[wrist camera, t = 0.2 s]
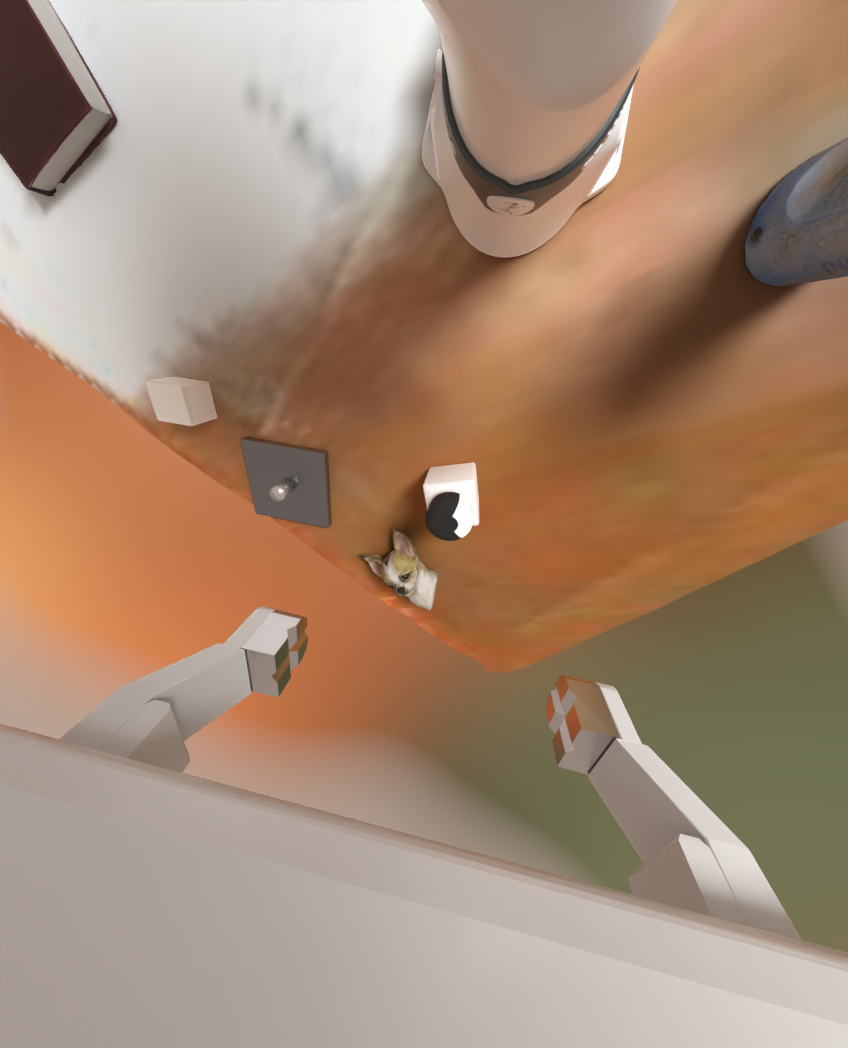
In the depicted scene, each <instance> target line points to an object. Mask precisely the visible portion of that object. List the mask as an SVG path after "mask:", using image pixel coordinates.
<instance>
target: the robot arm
mask: <svg viewBox="0 0 848 1048" xmlns="http://www.w3.org/2000/svg"><path fill="white" fill-rule="evenodd" d="M677 1H678V0H422V2H423V3H424V5H425V6H426V8H427V9H428V11H429V12H430V14H431V16H432V17H433V19H434V21H435V22H436V24H437V26H438V30H439V35H440V39H441V44H442V50H441V49H438V51H437V54H436V59H435V66H434V78H435V83H434V88H433V93H432V98H431V102H430V107H429V112H428V117H427V122H426V126H425V131H424V136H423V141H422V147H421V153H422V161H423V164H424V166H425V168H426V170H427V171H428V173H429V174H430V175H431V177H432V178H433V179H434V180H435V182H436V183H437V184H438V185H439V186H440V187H441V189H442V191H443V193H444V196H445V198H446V201H447V204H448V207H449V210H450V213H451V216H452V218H453V220H454V222H455V224H456V226H457V228H458V230H459V231H460V233H461V234H462V235H463V237H464V238H465V239H466V240H467V241H468V242H469V243H470V244H471V245H472V246H473V247H475V248H476V249H478V250H479V251H481V252H483V253H485V254H488V255H491V256H494V257H502V258H509V257H516V256H520V255H524V254H526V253H529V252H531V251H533V250H535V249H537V248H538V247H540V246H541V245H543V244H544V243H546V242H547V241H548V240H549V239H551V238H552V237H553V236H554V235H555V234H556V233H557V232H558V231H559V230H560V229H561V228H562V227H563V225H564V224H565V223H566V222H567V220H568V219H569V218H570V217H571V215H572V214H573V213H574V212H575V211H576V209H577V208H578V207H579V206H580V205H581V204H582V203H584V202H586V201H587V200H589V199H590V198H592V197H594V196H595V195H597V194H598V193H600V192H601V191H602V190H604V189H605V188H606V187H607V186H608V185H609V184H610V183H611V182H612V180H613V179H614V177H615V175H616V173H617V171H618V169H619V165H620V160H621V154H622V149H623V143H624V137H625V131H626V126H627V120H628V114H629V109H630V103H631V97H632V92H633V86H634V81H635V79H636V76H637V74H638V71H639V68H640V65H641V64H642V62H643V60H644V59H645V57H646V55H647V53H648V52H649V50H650V48H651V47H652V45H653V43H654V42H655V40H656V38H657V36H658V35H659V33H660V31H661V30H662V28H663V26H664V24H665V23H666V21H667V19H668V18H669V16H670V14H671V13H672V11H673V9H674V7H675V5H676V3H677ZM306 627H307V618H306V617H303V616H299V615H295V614H291V613H287V612H283V611H280V610H275V609H271V608H267V607H263V606H261V607H259V608H257V609H256V610H255V611H254V612H253V613H252V614H251V615H250V616H249V617H248V618H247V619H246V620H245V621H244V622H243V623H242V624H241V625H240V627H239V628H238V629H237V630H236V631H235V632H234V633H233V634H232V635H231V636H230V637H229V638H228V639H227V640H226V641H225V642H224V643H223V644H219V643H218V644H215V645H213V646H211V647H209V648H206V649H204V650H202V651H200V652H198V653H195V654H193V655H191V656H189V657H186V658H184V659H182V660H180V661H177V662H175V663H173V664H171V665H169V666H166V667H164V668H162V669H160V670H157V671H155V672H153V673H151V674H149V675H147V676H144V677H142V678H140V679H137V680H135V681H133V682H131V683H128V684H126V685H124V686H122V687H120V688H118V689H117V690H116V691H114V692H113V693H112V694H111V695H110V696H109V697H107V698H106V699H105V700H104V701H103V702H102V703H101V704H99V705H98V706H97V707H96V708H95V709H94V710H92V711H91V712H90V713H89V714H88V715H87V716H86V717H84V718H83V719H82V720H81V721H80V722H79V723H78V724H76V725H75V726H74V727H73V728H72V729H71V730H70V731H68V732H67V733H66V734H65V735H64V736H63V737H62V738H60V739H55V738H51V737H48V736H44V735H40V734H36V733H33V732H29V731H26V730H21V729H18V728H14V727H10V726H7V725H3V724H0V1048H848V953H845V952H842V951H838V950H834V949H831V948H827V947H823V946H820V945H816V944H812V943H808V942H805V941H802V940H801V938H800V937H799V935H798V933H797V931H796V930H795V928H794V927H793V924H792V923H791V921H790V920H789V918H788V916H787V914H786V912H785V911H784V909H783V907H782V906H781V904H780V902H779V900H778V899H777V897H776V895H775V894H774V892H773V890H772V888H771V887H770V885H769V883H768V882H767V880H766V878H765V876H764V875H763V873H762V871H761V870H760V868H759V866H758V864H757V863H756V861H755V859H754V857H753V856H752V854H751V852H750V851H749V849H748V848H747V847H746V846H745V845H744V844H743V843H742V842H741V841H740V840H739V839H738V838H737V837H736V836H735V835H734V834H733V833H732V832H731V831H730V830H729V829H728V828H727V827H726V826H725V825H724V824H723V823H722V821H720V820H719V819H718V817H717V816H716V815H714V814H713V812H712V811H711V810H710V809H709V808H708V807H707V806H706V805H705V804H704V803H703V802H702V801H701V800H700V799H699V798H698V797H697V796H696V795H695V794H694V793H693V792H692V791H691V790H690V789H689V788H688V787H687V786H686V785H685V784H684V783H683V782H682V781H681V779H679V777H678V776H677V775H676V774H675V773H674V772H673V771H672V770H671V769H670V768H669V767H668V766H667V765H666V764H665V763H664V762H663V761H662V760H661V759H660V758H659V757H658V756H657V755H656V754H655V753H654V752H653V751H652V750H651V749H650V748H649V747H648V746H647V745H643V744H642V743H641V741H640V739H639V737H638V735H637V732H636V730H635V728H634V726H633V724H632V722H631V720H630V717H629V715H628V713H627V711H626V709H625V707H624V705H623V702H622V700H621V698H620V696H619V694H618V692H617V690H616V689H615V688H614V687H613V686H609V685H605V684H600V683H594V682H592V681H587V680H583V679H578V678H573V677H569V676H564V675H561V676H560V677H558V679H557V681H556V686H557V689H556V690H554V691H552V692H550V694H549V697H548V699H547V705H546V714H547V721H548V725H549V727H550V728H551V729H552V731H553V732H554V733H555V736H554V738H553V739H552V745H553V749H554V753H555V758H556V763H557V766H559V767H563V768H566V769H569V770H573V771H576V772H580V773H584V774H588V778H589V779H590V781H591V782H592V784H593V786H594V787H595V789H596V790H597V792H598V793H599V795H600V796H601V798H602V799H603V801H604V803H605V804H606V806H607V807H608V808H609V810H610V812H611V813H612V815H613V816H614V818H615V819H616V821H617V822H618V824H619V825H620V827H621V828H622V830H623V832H624V833H625V835H626V836H627V838H628V839H629V841H630V842H631V844H632V845H633V847H634V848H635V850H636V852H637V853H638V855H639V856H640V858H641V859H642V861H643V862H644V864H643V865H642V866H641V867H640V868H638V869H637V870H636V871H635V872H633V873H632V875H631V876H630V878H629V882H630V886H631V889H632V893H633V895H632V894H628V893H624V892H620V891H617V890H613V889H609V888H605V887H602V886H598V885H595V884H591V883H587V882H583V881H580V880H576V879H572V878H569V877H565V876H561V875H557V874H554V873H550V872H546V871H543V870H539V869H536V868H532V867H528V866H525V865H520V864H517V863H513V862H510V861H506V860H502V859H499V858H495V857H491V856H488V855H484V854H480V853H477V852H473V851H469V850H465V849H462V848H458V847H454V846H450V845H447V844H443V843H440V842H436V841H432V840H428V839H425V838H421V837H417V836H414V835H410V834H406V833H403V832H399V831H395V830H392V829H388V828H384V827H381V826H377V825H373V824H369V823H366V822H362V821H358V820H355V819H351V818H347V817H344V816H340V815H336V814H333V813H329V812H325V811H322V810H318V809H314V808H310V807H306V806H303V805H299V804H296V803H292V802H288V801H285V800H281V799H277V798H273V797H270V796H266V795H262V794H258V793H255V792H251V791H247V790H244V789H240V788H236V787H233V786H229V785H225V784H222V783H218V782H214V781H211V780H206V779H203V778H199V777H196V776H192V775H188V774H185V773H182V772H183V771H184V769H185V768H186V766H187V765H188V764H189V761H190V760H189V754H188V751H187V748H186V746H185V743H184V741H185V740H186V739H188V738H189V737H190V736H192V735H193V734H195V733H196V732H197V731H199V730H200V729H202V728H203V727H204V726H206V725H207V724H209V723H210V722H212V721H213V720H214V719H216V718H217V717H219V716H220V715H221V714H223V713H224V712H225V711H227V710H229V709H230V708H231V707H233V706H234V705H235V704H237V703H238V702H240V701H241V700H243V699H244V698H245V697H247V696H248V695H250V694H251V693H252V692H257V693H262V694H266V695H271V696H275V697H279V696H280V695H281V693H282V691H283V690H284V688H285V686H286V685H287V683H288V682H289V680H290V678H291V671H290V670H291V669H293V668H295V667H296V666H298V665H299V663H300V661H301V660H302V658H303V656H304V654H305V651H306V648H307V643H308V635H307V634H306V633H305V631H304V630H305V629H306ZM251 691H252V692H251Z"/></svg>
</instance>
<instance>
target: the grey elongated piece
mask: <svg viewBox="0 0 848 1048" xmlns="http://www.w3.org/2000/svg"><path fill="white" fill-rule="evenodd" d="M745 255H746V260H745V262H746V265H747V268H748V269H749V271H750V273H751V275H752V276H753V277H754V278H755V279H757V280H758V281H760V282H762V283H765V284H768V285H770V286H786V285H795V284H801V283H806V282H815V281H820V280H827V279H834V278H840V277H845V276H848V138H846V139H844V140H842V141H840V142H839V143H837V144H835V145H833V146H831V147H829V148H828V149H826V150H824V151H822V152H820V153H819V154H817V155H815V156H812V157H811V158H809V159H808V160H806V161H805V162H803V163H802V164H800V165H799V166H797V167H796V168H795V169H794V170H792V171H791V172H790V173H789V174H788V175H787V176H786V177H785V178H784V179H783V180H782V181H781V182H780V183H779V184H778V185H777V186H776V187H775V188H774V189H773V191H772V192H771V193H770V194H769V196H768V197H767V198H766V200H765V201H764V203H763V204H762V205H761V207H760V209H759V211H758V213H757V214H756V216H755V218H754V220H753V222H752V225H751V227H750V230H749V233H748V236H747V239H746V243H745Z"/></svg>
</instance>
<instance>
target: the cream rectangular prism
mask: <svg viewBox="0 0 848 1048" xmlns="http://www.w3.org/2000/svg"><path fill="white" fill-rule="evenodd" d="M145 384H146V387H147V390H148V393H149V396H150V399H151V402H152V405H153V408H154V411H155V414H156V417H157V420H158V421H164V422H170V423H175V424H181V425H187V426H195V425H198V424H201V423H204V422H207V421H211V420H214V419H217V414H216V410H215V405H214V401H213V397H212V393H211V388H210V384H209V382H207V381H201V380H195V379H189V378H182V377H176V376H175V377H168V378H160V379H152V380H145Z"/></svg>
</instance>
